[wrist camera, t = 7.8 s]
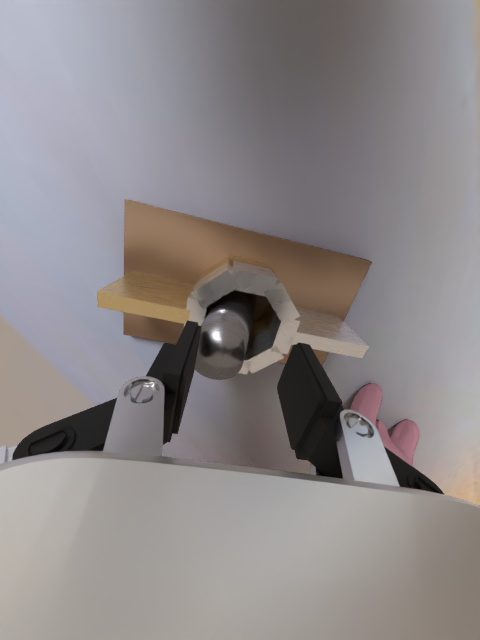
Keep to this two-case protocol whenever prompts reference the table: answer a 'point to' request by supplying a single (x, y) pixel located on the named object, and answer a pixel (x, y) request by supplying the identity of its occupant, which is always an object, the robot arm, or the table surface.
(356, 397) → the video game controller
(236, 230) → the mounting board
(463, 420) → the table surface
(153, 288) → the hinge
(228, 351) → the hinge pin
